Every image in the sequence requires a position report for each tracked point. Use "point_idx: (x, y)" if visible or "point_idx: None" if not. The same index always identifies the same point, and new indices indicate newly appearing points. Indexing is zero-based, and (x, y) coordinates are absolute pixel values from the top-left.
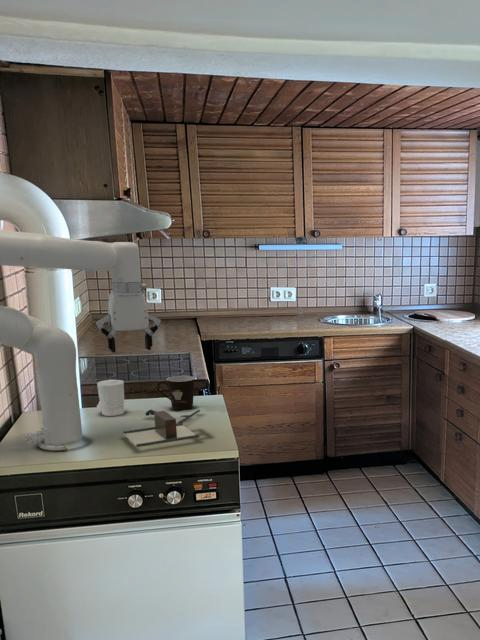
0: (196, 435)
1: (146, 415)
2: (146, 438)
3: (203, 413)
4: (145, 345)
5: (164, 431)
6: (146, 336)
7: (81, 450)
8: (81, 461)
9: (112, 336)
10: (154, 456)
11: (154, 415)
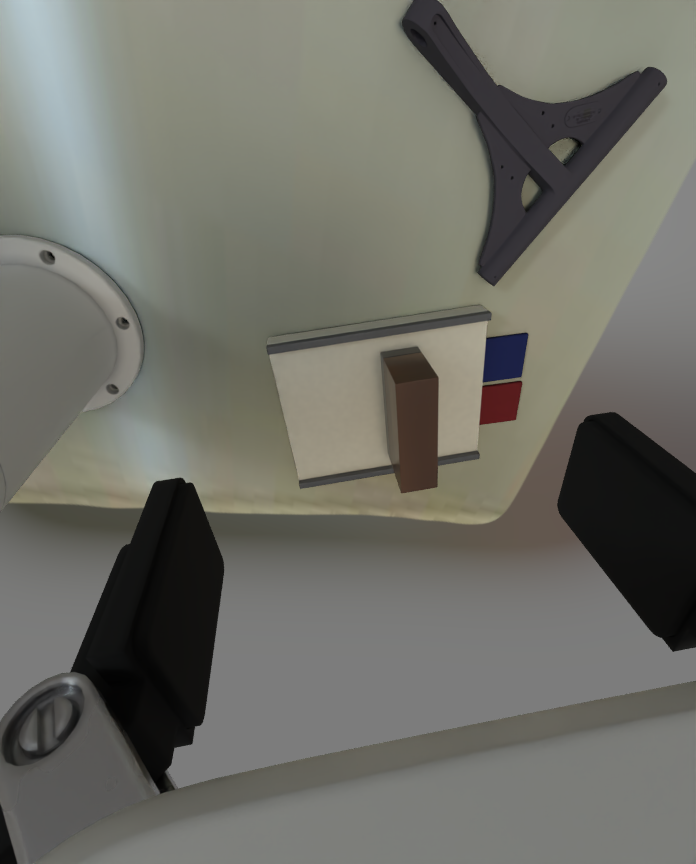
0: (472, 459)
1: (405, 24)
2: (336, 424)
3: (679, 49)
4: (602, 438)
5: (391, 457)
6: (675, 603)
7: (134, 415)
8: None
9: (164, 772)
10: (336, 509)
11: (392, 381)
